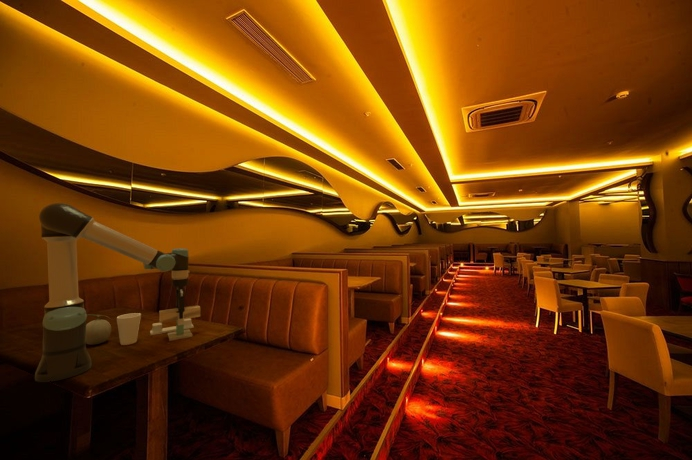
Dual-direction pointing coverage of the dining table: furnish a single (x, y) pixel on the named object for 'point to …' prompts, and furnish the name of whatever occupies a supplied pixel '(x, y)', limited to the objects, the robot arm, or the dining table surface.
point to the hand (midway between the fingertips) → (180, 323)
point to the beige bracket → (158, 327)
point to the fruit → (97, 330)
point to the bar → (173, 315)
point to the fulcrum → (179, 333)
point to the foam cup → (128, 328)
